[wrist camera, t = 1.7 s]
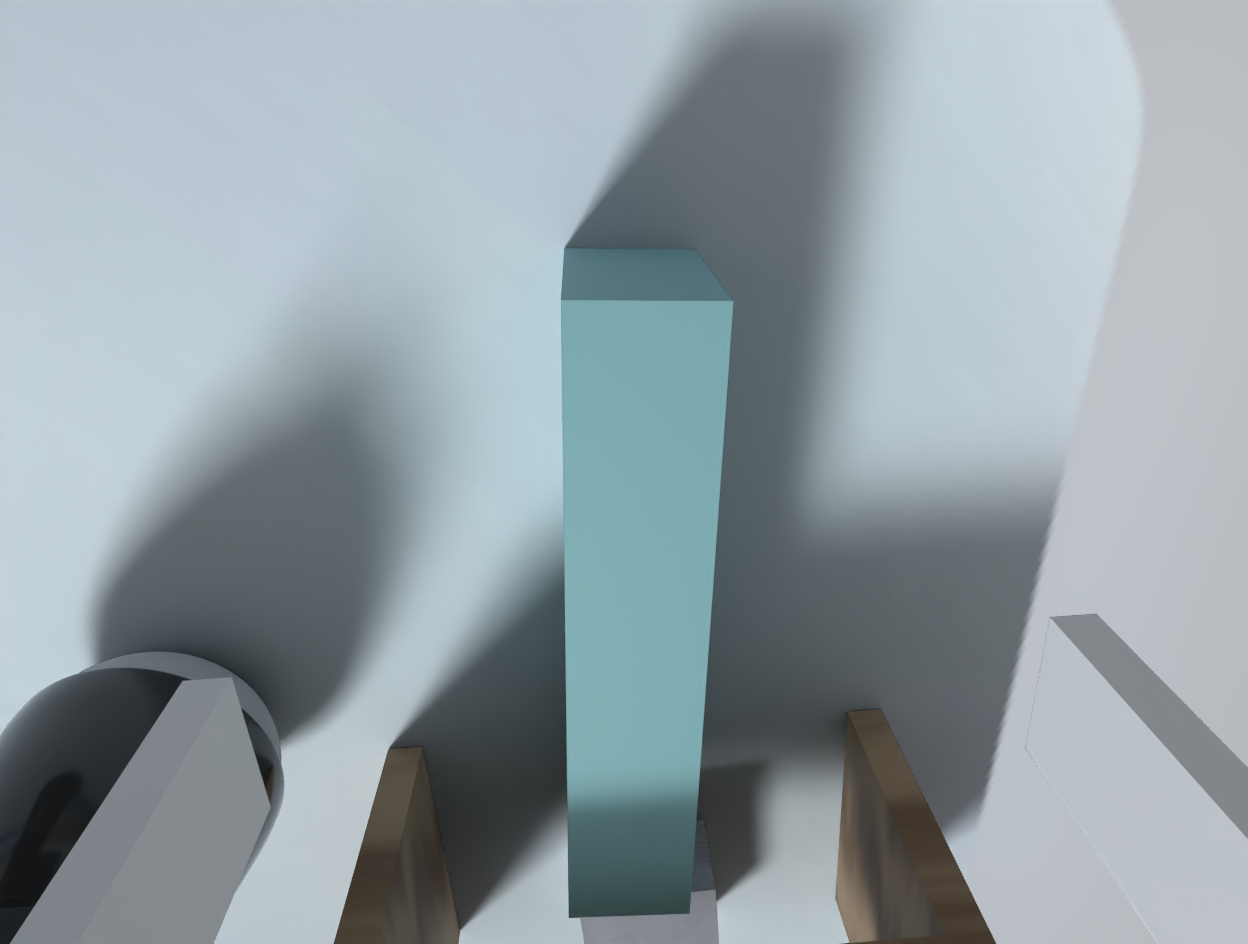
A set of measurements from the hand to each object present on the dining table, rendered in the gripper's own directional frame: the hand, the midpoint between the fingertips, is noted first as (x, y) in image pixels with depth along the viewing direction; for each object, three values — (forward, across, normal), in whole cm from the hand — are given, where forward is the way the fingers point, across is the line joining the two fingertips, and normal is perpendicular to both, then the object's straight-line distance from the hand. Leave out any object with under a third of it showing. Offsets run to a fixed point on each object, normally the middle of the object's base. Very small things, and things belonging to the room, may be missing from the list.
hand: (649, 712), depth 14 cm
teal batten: (+19, 0, -7) cm, 20 cm away
